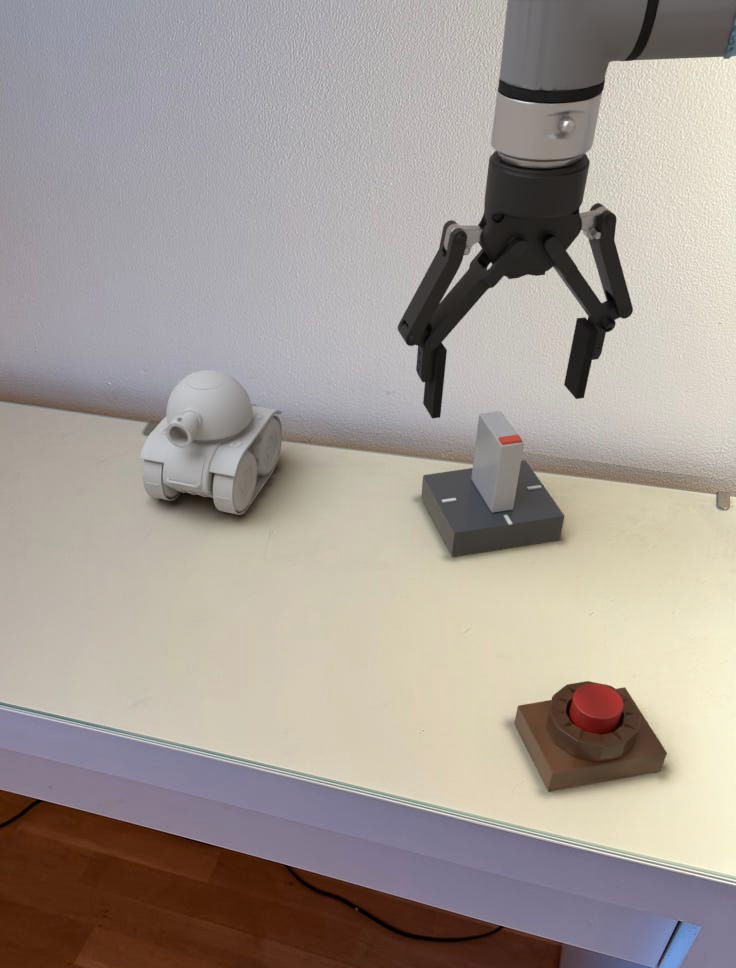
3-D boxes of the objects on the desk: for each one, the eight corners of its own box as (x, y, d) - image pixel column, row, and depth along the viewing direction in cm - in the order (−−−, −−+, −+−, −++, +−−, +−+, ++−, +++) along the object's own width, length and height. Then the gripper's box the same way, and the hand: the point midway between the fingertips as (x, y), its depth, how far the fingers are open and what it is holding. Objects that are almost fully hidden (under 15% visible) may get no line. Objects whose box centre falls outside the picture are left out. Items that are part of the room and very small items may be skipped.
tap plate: (521, 483, 101) (525, 457, 99) (560, 541, 94) (565, 514, 92) (420, 498, 100) (422, 473, 98) (452, 558, 93) (455, 531, 91)
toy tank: (233, 534, 98) (223, 421, 89) (141, 514, 101) (123, 404, 92) (286, 456, 107) (282, 348, 98) (201, 440, 111) (189, 335, 102)
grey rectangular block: (470, 479, 97) (479, 411, 92) (491, 476, 97) (501, 408, 92) (491, 513, 93) (501, 444, 87) (513, 509, 93) (524, 440, 88)
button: (606, 695, 74) (610, 679, 73) (627, 729, 72) (632, 714, 70) (561, 703, 74) (565, 687, 73) (581, 737, 71) (585, 722, 70)
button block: (619, 705, 78) (630, 670, 75) (660, 771, 73) (673, 737, 70) (513, 723, 77) (520, 689, 75) (547, 791, 72) (556, 758, 70)
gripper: (395, 186, 69) (382, 440, 84) (718, 150, 72) (650, 403, 86) (368, 154, 75) (360, 398, 89) (669, 121, 77) (613, 364, 92)
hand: (503, 401), depth 88 cm, fingers open, 13 cm apart
